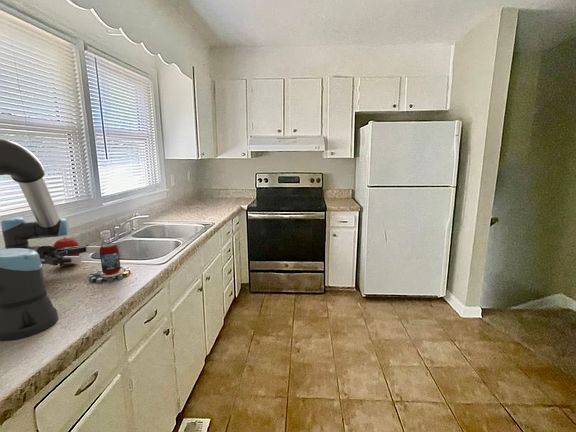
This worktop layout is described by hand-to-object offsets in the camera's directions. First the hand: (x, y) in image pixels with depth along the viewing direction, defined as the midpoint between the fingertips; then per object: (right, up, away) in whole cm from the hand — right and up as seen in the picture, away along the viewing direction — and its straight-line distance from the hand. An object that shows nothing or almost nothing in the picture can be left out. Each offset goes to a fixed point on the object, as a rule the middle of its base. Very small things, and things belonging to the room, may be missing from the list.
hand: (91, 254), depth 132 cm
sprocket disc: (+7, -9, +2) cm, 12 cm away
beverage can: (+8, -8, +1) cm, 11 cm away
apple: (-21, -7, +17) cm, 27 cm away
